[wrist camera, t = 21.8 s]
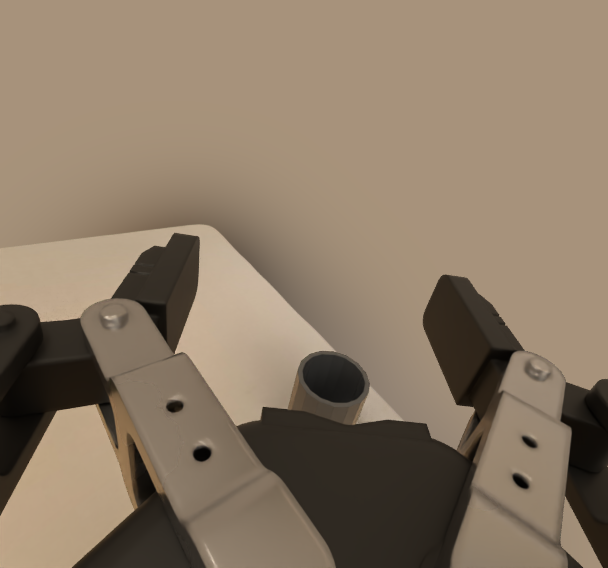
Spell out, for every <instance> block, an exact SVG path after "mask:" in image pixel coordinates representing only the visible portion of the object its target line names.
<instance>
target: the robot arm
mask: <svg viewBox="0 0 608 568" xmlns="http://www.w3.org/2000/svg"><path fill="white" fill-rule="evenodd" d="M199 248H200V240H199V237H198V236H192V235H185V234H179V233H174V234H173V235H172V237H171V239H170V241H169V242H168V244H167V246H166V247H159V246H153V247H152V248H150V249H148V250H146V251H145V252H143V253H142V254H141V255H140V257H139V258H138V260H137V261H136V262H135V265H133V267H132V268H131V270H130V273H128V274H127V276H126V277H125V279H124V280H123V282H122V283H121V285H120V286H119V288H118V289H117V291H116V292H115V293H114V295H113V296H112V298H111V299H108V300H103V301H100V302H97V303H95V304H93V305H91V306H90V307H88V308H87V309H86V310H85V311H84V312H83V314H82V316H81V318H78V319H73V320H63V321H51V322H40V319H39V316H38V314H37V312H36V311H35V310H33V309H32V308H29V307H26V306H22V305H1V306H0V515H1V513H2V511H3V509H4V508H5V506H6V504H7V502H8V500H9V498H10V497H11V495H12V493H13V491H14V489H15V487H16V485H17V484H18V482H19V480H20V478H21V476H22V474H23V472H24V471H25V469H26V467H27V465H28V463H29V461H30V459H31V458H32V456H33V454H34V452H35V450H36V448H37V446H38V445H39V443H40V441H41V439H42V437H43V435H44V433H45V432H46V430H47V428H48V426H49V424H50V422H51V420H52V419H53V417H54V415H55V413H56V411H57V410H63V409H70V408H76V407H82V406H88V405H94V404H95V405H96V407H97V410H98V412H99V415H100V417H101V420H102V422H103V425H104V427H105V429H106V432H107V434H108V437H109V439H110V442H111V444H112V447H113V449H114V452H115V454H116V457H117V459H118V462H119V465H120V468H121V472H122V476H123V479H124V483H125V486H126V489H127V492H128V495H129V498H130V500H131V503H132V505H133V508H134V510H135V511H134V512H132V513H131V514H130V515H129V516H128V517H127V518H126V519H125V520H124V521H123V522H121V523H120V524H119V525H118V526H117V527H116V528H115V529H114V530H113V531H111V532H110V533H109V534H108V535H107V536H106V537H105V538H104V539H103V540H102V541H100V542H99V543H98V544H97V545H96V546H95V547H94V548H93V549H92V550H91V551H89V552H88V553H87V554H86V555H85V556H84V557H83V558H82V559H81V560H80V561H78V562H77V563H76V564H75V565H74V566H73V567H72V568H583V567H582V566H581V565H580V564H579V563H578V562H577V561H576V560H574V559H573V558H572V557H571V556H570V555H569V554H568V553H567V552H566V551H565V550H564V549H563V548H562V547H561V544H560V538H561V537H560V536H561V528H562V519H563V508H564V500H565V497H566V498H567V500H568V502H569V504H570V506H571V508H572V510H573V512H574V513H575V516H576V518H577V519H578V521H579V523H580V525H581V527H582V529H583V531H584V533H585V535H586V536H587V538H588V540H589V542H590V544H591V546H592V548H593V550H594V552H595V554H596V556H597V557H598V559H599V561H600V563H601V565H602V567H603V568H608V467H607V466H608V379H602V380H599V381H598V382H597V383H596V384H595V386H594V387H593V388H592V389H591V390H587V389H584V388H581V387H578V386H575V385H573V384H570V383H567V382H566V380H565V377H564V375H563V374H562V372H561V371H560V370H559V369H558V368H557V367H556V366H555V365H554V364H553V363H551V362H550V361H548V360H547V359H545V358H543V357H541V356H539V355H537V354H534V353H532V352H528V351H524V349H523V348H522V346H521V345H520V343H519V342H518V341H517V339H516V338H515V337H514V335H513V334H512V332H511V331H510V329H509V328H508V327H507V326H505V322H504V321H503V320H502V318H501V317H499V314H498V313H497V311H496V310H495V308H494V307H493V305H492V304H490V303H489V302H488V301H487V300H486V299H485V298H483V297H482V296H481V295H479V294H478V293H477V291H476V290H475V288H474V287H473V285H472V284H471V283H470V281H469V280H468V279H467V278H464V277H458V276H451V275H443V276H441V277H440V279H439V280H438V283H437V285H436V287H435V289H434V292H433V294H432V296H431V298H430V300H429V303H428V305H427V307H426V309H425V312H424V315H423V327H424V330H425V332H426V335H427V337H428V339H429V342H430V344H431V346H432V349H433V351H434V353H435V356H436V358H437V360H438V363H439V365H440V367H441V370H442V372H443V374H444V376H445V379H446V381H447V383H448V386H449V388H450V391H451V393H452V395H453V398H454V400H455V402H456V404H457V405H460V406H470V407H474V409H475V412H474V413H473V415H472V416H471V418H470V420H469V422H468V424H467V427H466V429H465V431H464V434H463V436H462V438H461V441H460V443H459V445H458V448H457V450H455V449H453V448H451V447H450V446H448V445H446V444H444V443H442V442H440V441H437V440H435V439H432V438H431V436H430V433H429V430H428V427H427V424H423V423H414V422H404V421H395V420H383V421H376V422H369V423H362V424H355V425H346V424H342V423H339V422H336V421H333V420H330V419H327V418H324V417H321V416H318V415H315V414H312V413H308V412H305V411H297V410H288V409H278V408H268V407H263V409H262V414H261V420H259V421H252V422H248V423H244V424H241V425H239V426H236V425H235V424H234V423H233V421H232V420H231V418H230V417H229V415H228V414H227V412H226V411H225V409H224V408H223V406H222V405H221V403H220V402H219V400H218V399H217V397H216V396H215V395H214V393H213V392H212V390H211V389H210V387H209V386H208V384H207V383H206V381H205V380H204V378H203V377H202V375H201V374H200V372H199V371H198V369H197V368H196V366H195V365H194V364H193V362H192V361H191V359H190V358H189V356H188V355H187V354H185V353H183V352H182V353H179V354H176V355H174V353H175V350H176V348H177V345H178V342H179V339H180V337H181V334H182V331H183V329H184V326H185V323H186V321H187V318H188V315H189V312H190V310H191V307H192V304H193V302H194V299H195V296H196V292H197V286H198V274H199Z"/></svg>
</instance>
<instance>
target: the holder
mask: <svg viewBox="0 0 608 568" xmlns="http://www.w3.org/2000/svg"><path fill="white" fill-rule="evenodd" d="M369 386H370V383H369V380H368V377H367V374H366V372H365V371H364V370H363V369H362V367H361V366H360V365H359V364H358V363H357V362H355V361H354V360H352V359H351V358H349V357H348V356H346V355H343V354H340V353H337V352H332V351H319V352H315V353H312V354H309V355H308V356H307V357H305V358H304V359H303V360H302V361H301V363H300V365H299V368H298V371H297V375H296V378H295V382H294V386H293V390H292V394H291V398H290V402H289V406H288V410H297V411H305V412H308V413H312V414H315V415H318V416H321V417H324V418H327V419H330V420H333V421H336V422H339V423H342V424H346V425H355V424H356V422H357V420H358V417H359V415H360V412H361V410H362V408H363V405H364V403H365V400H366V398H367V396H368V392H369Z"/></svg>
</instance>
